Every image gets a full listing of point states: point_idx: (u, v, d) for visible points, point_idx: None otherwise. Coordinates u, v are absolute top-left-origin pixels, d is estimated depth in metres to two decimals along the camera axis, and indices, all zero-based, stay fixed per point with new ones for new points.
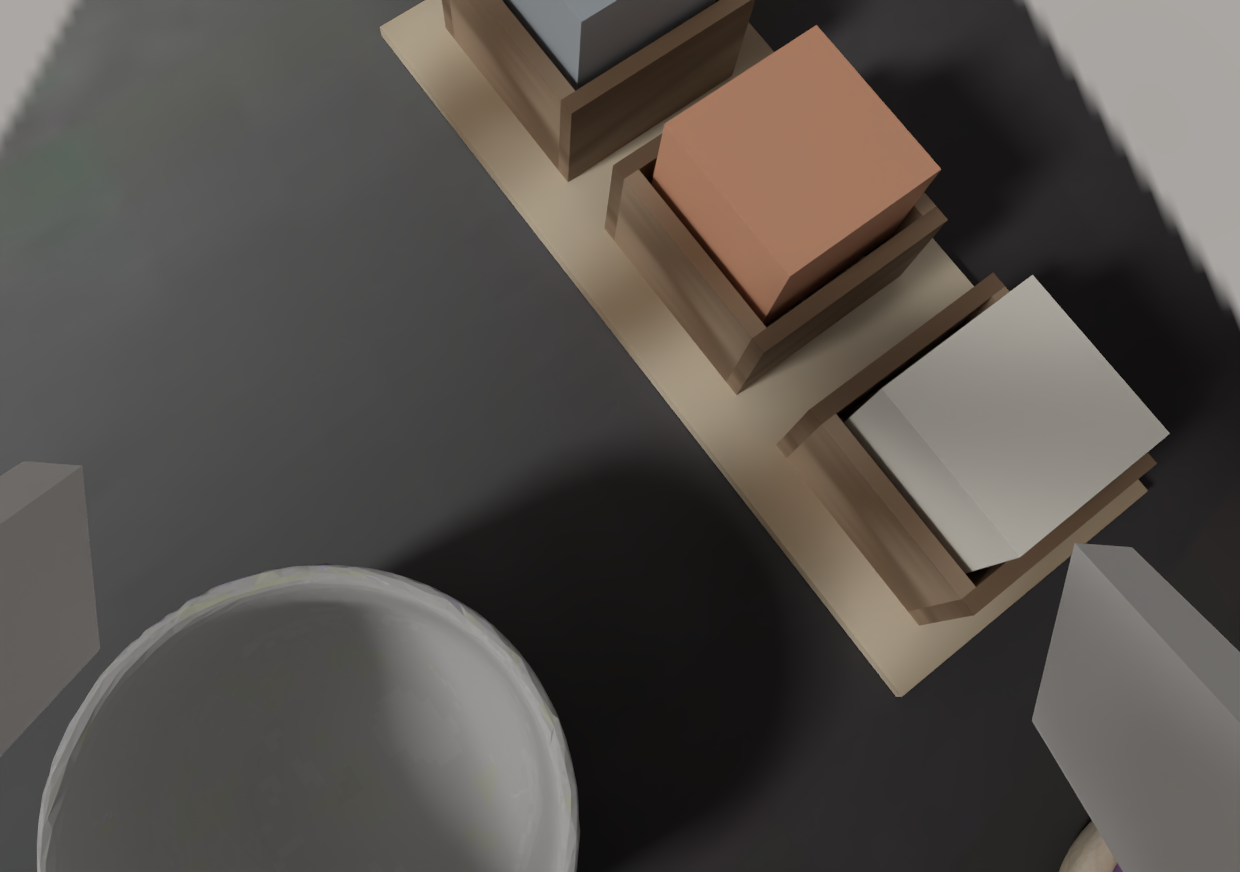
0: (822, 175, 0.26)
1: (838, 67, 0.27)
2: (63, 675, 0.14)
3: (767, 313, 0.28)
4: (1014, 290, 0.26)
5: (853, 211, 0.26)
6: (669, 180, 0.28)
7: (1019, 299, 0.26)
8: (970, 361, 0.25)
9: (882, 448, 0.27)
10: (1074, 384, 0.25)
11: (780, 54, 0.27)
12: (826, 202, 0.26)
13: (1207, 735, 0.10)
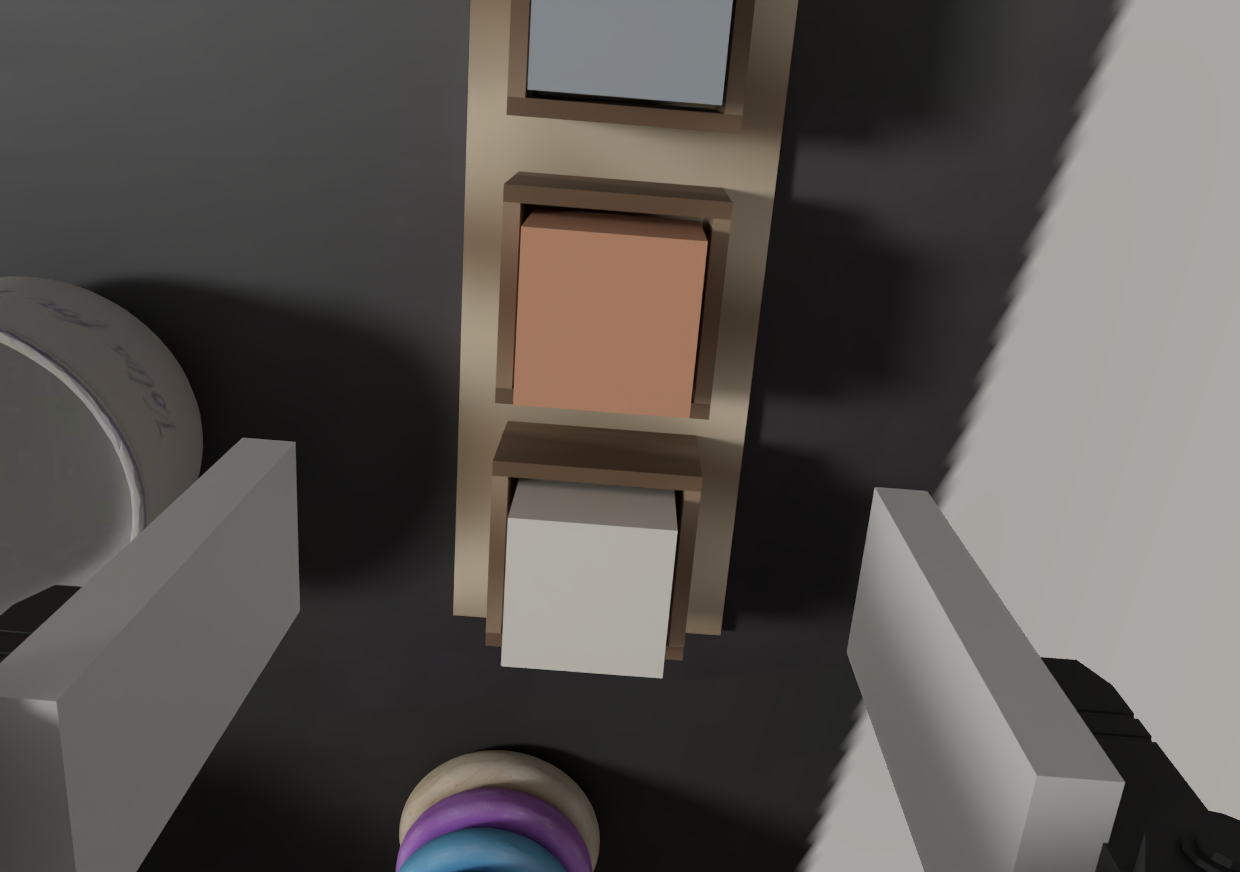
0: (601, 356, 0.29)
1: (690, 288, 0.29)
2: (279, 632, 0.15)
3: None
4: (654, 530, 0.31)
5: (598, 397, 0.30)
6: None
7: (652, 538, 0.31)
8: (581, 547, 0.31)
9: None
10: (633, 609, 0.32)
11: (656, 243, 0.28)
12: (585, 376, 0.29)
13: (937, 641, 0.12)
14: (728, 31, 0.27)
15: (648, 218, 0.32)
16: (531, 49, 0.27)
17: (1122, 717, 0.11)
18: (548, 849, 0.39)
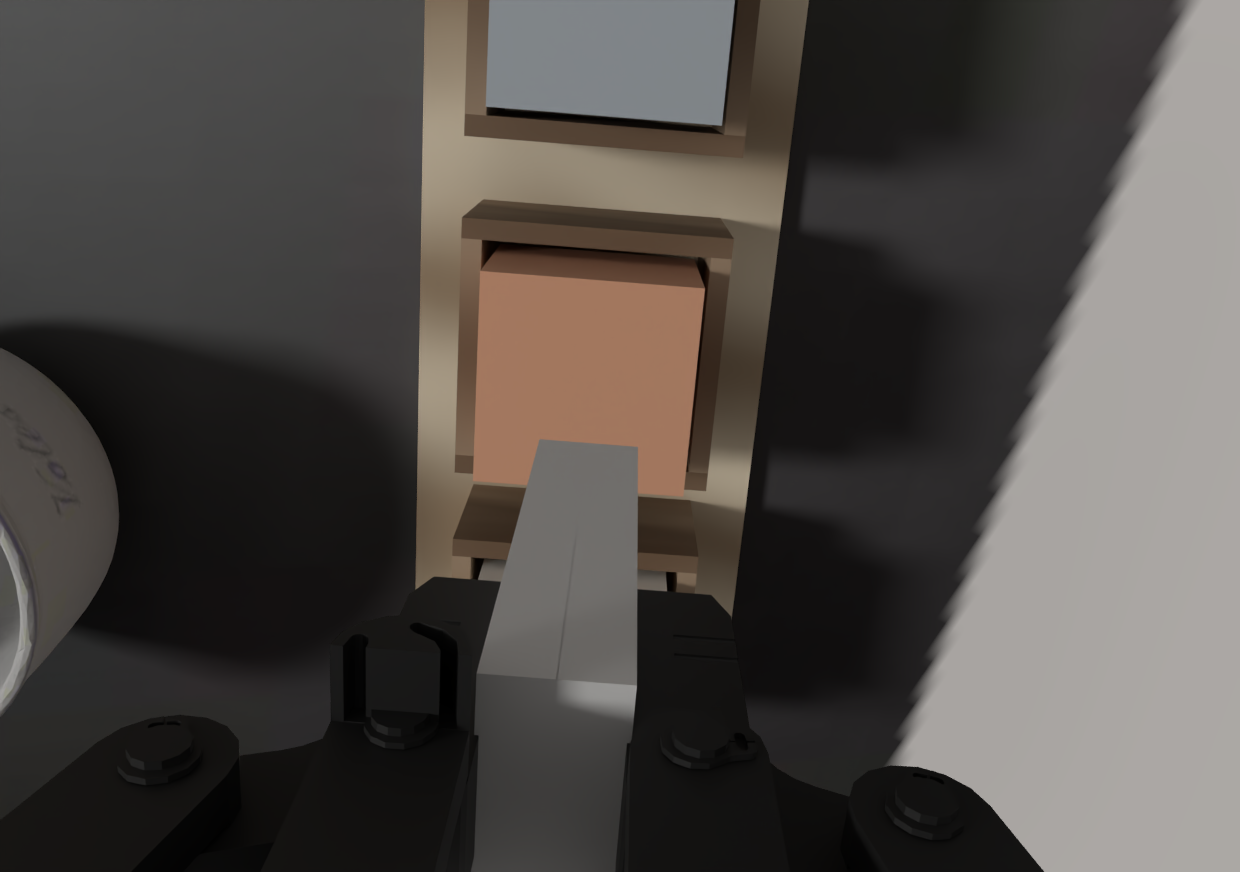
0: (577, 423, 0.24)
1: (684, 343, 0.24)
2: None
3: None
4: None
5: None
6: None
7: None
8: None
9: None
10: None
11: (643, 290, 0.23)
12: None
13: None
14: (729, 36, 0.22)
15: (634, 256, 0.27)
16: (490, 57, 0.22)
17: (721, 642, 0.12)
18: None
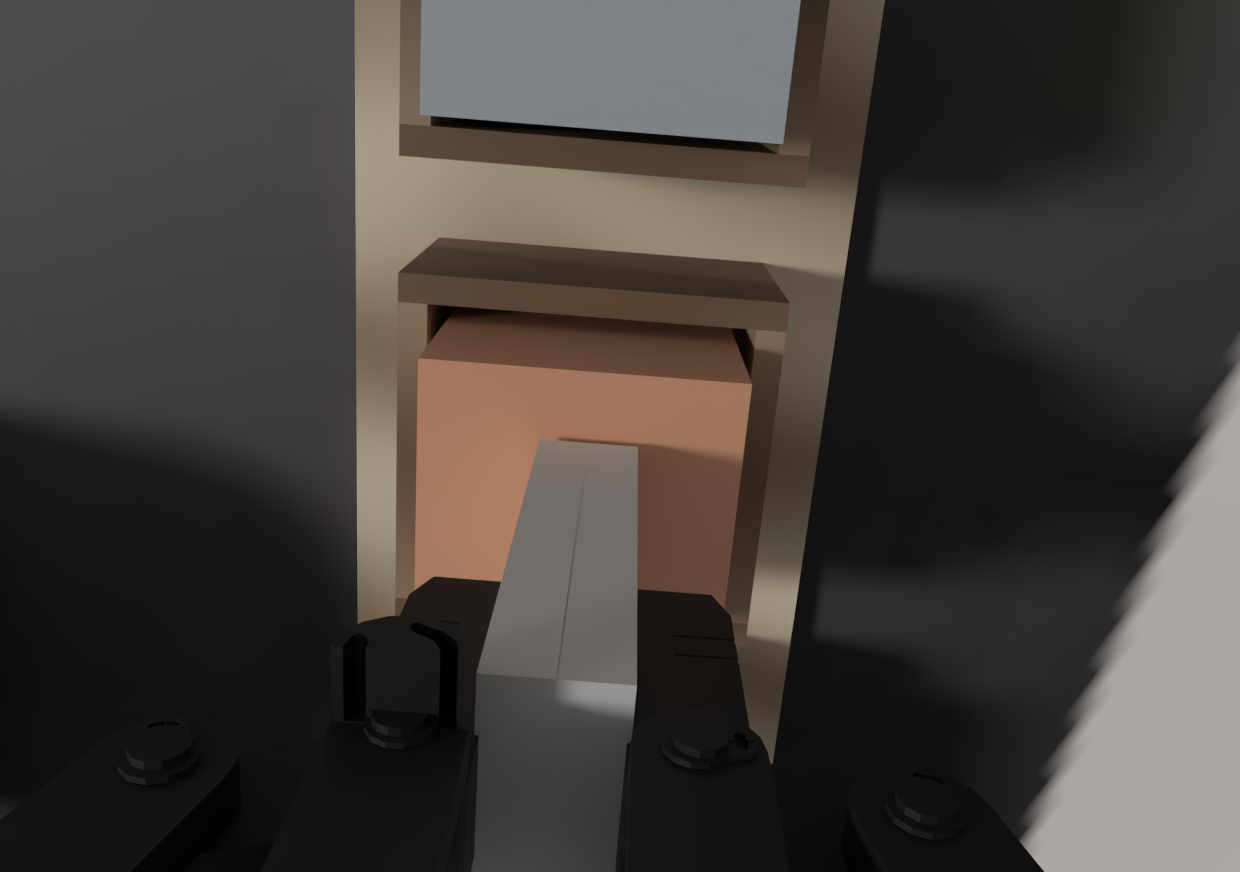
0: None
1: (721, 463, 0.16)
2: None
3: None
4: None
5: None
6: None
7: None
8: None
9: None
10: None
11: (661, 387, 0.16)
12: None
13: None
14: (797, 5, 0.14)
15: (645, 321, 0.19)
16: (424, 38, 0.14)
17: (722, 642, 0.12)
18: None
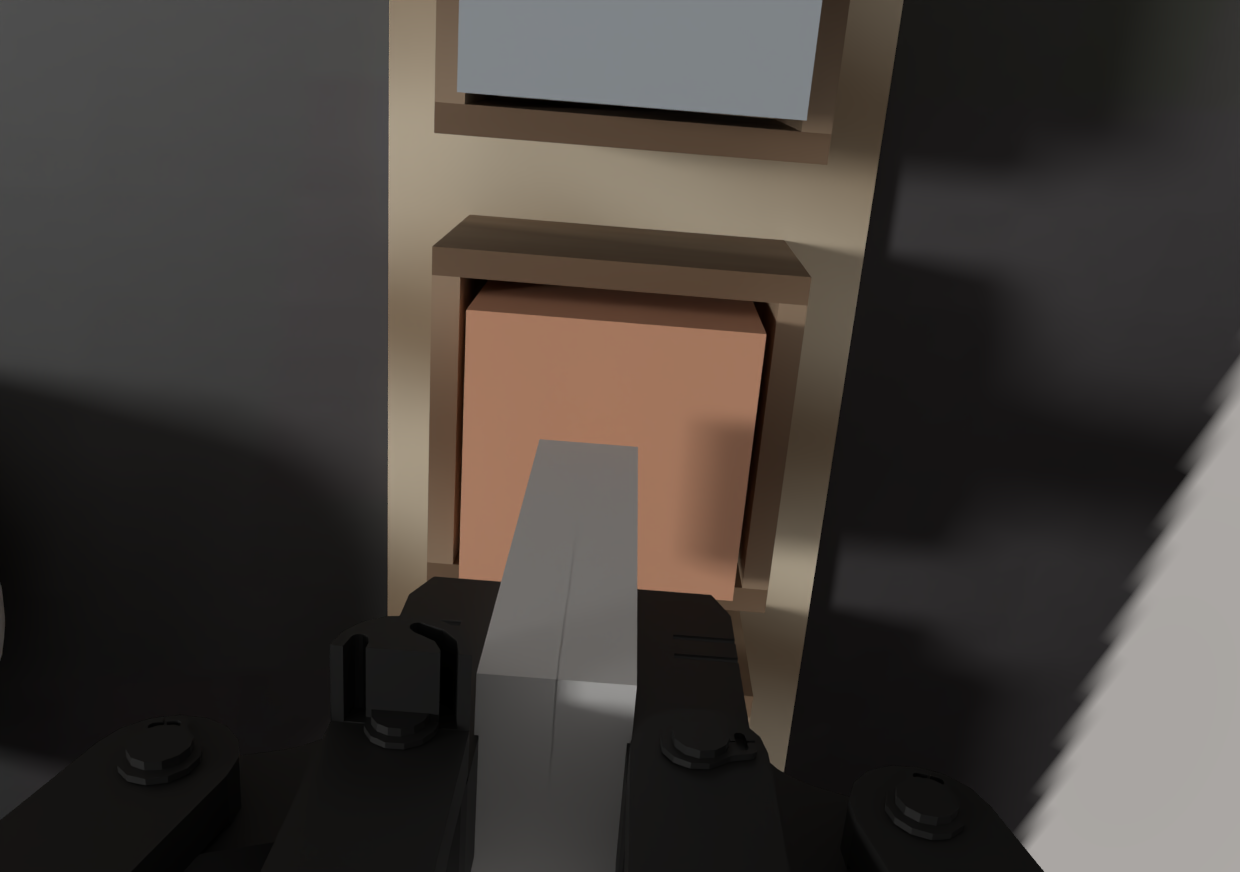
0: None
1: (738, 406, 0.18)
2: None
3: None
4: None
5: None
6: None
7: None
8: None
9: None
10: None
11: (684, 337, 0.18)
12: None
13: None
14: None
15: None
16: (462, 18, 0.15)
17: (721, 642, 0.12)
18: None
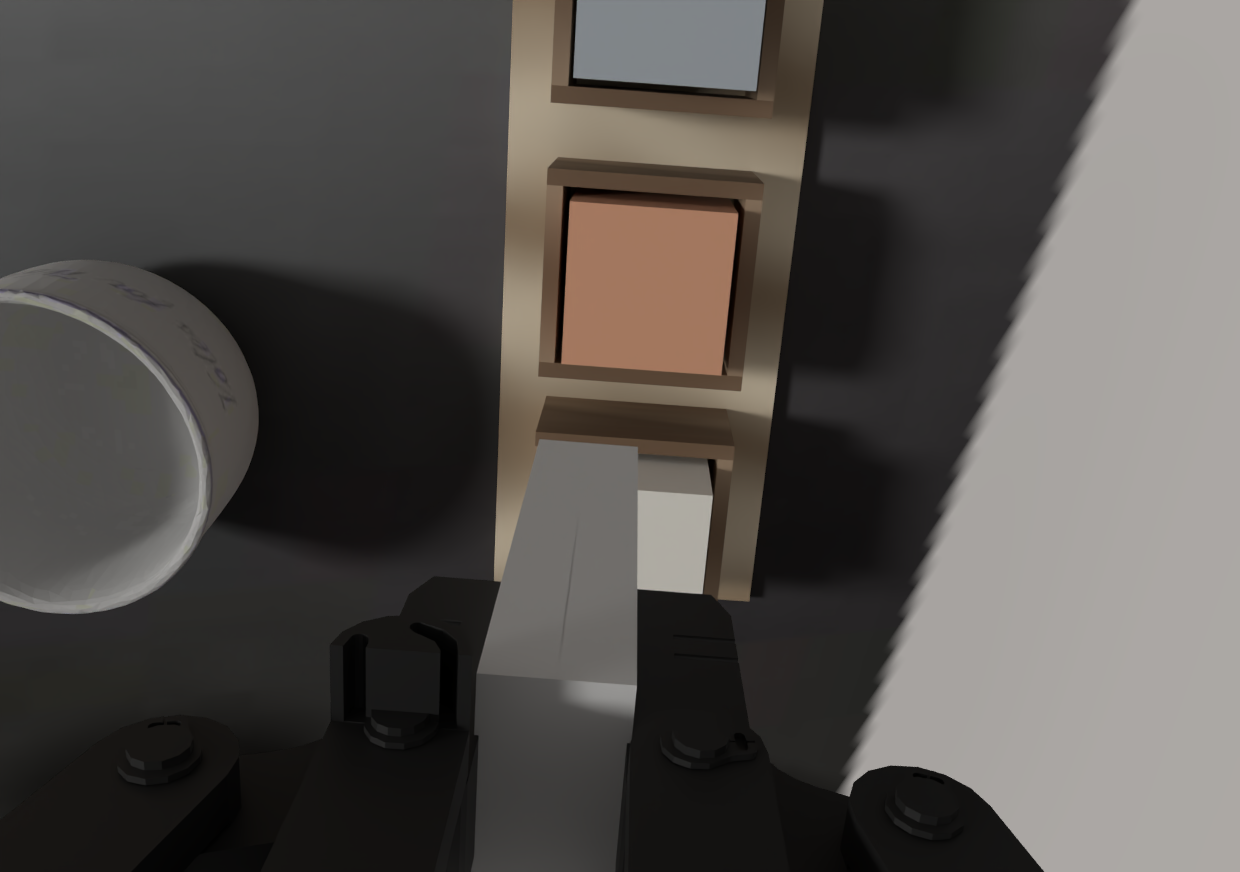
0: (641, 318, 0.32)
1: (723, 256, 0.32)
2: None
3: None
4: (691, 495, 0.33)
5: (639, 356, 0.33)
6: None
7: (689, 503, 0.33)
8: None
9: None
10: (670, 571, 0.34)
11: (692, 215, 0.31)
12: (627, 337, 0.33)
13: None
14: (762, 21, 0.28)
15: (682, 195, 0.35)
16: (576, 39, 0.28)
17: (722, 642, 0.12)
18: None
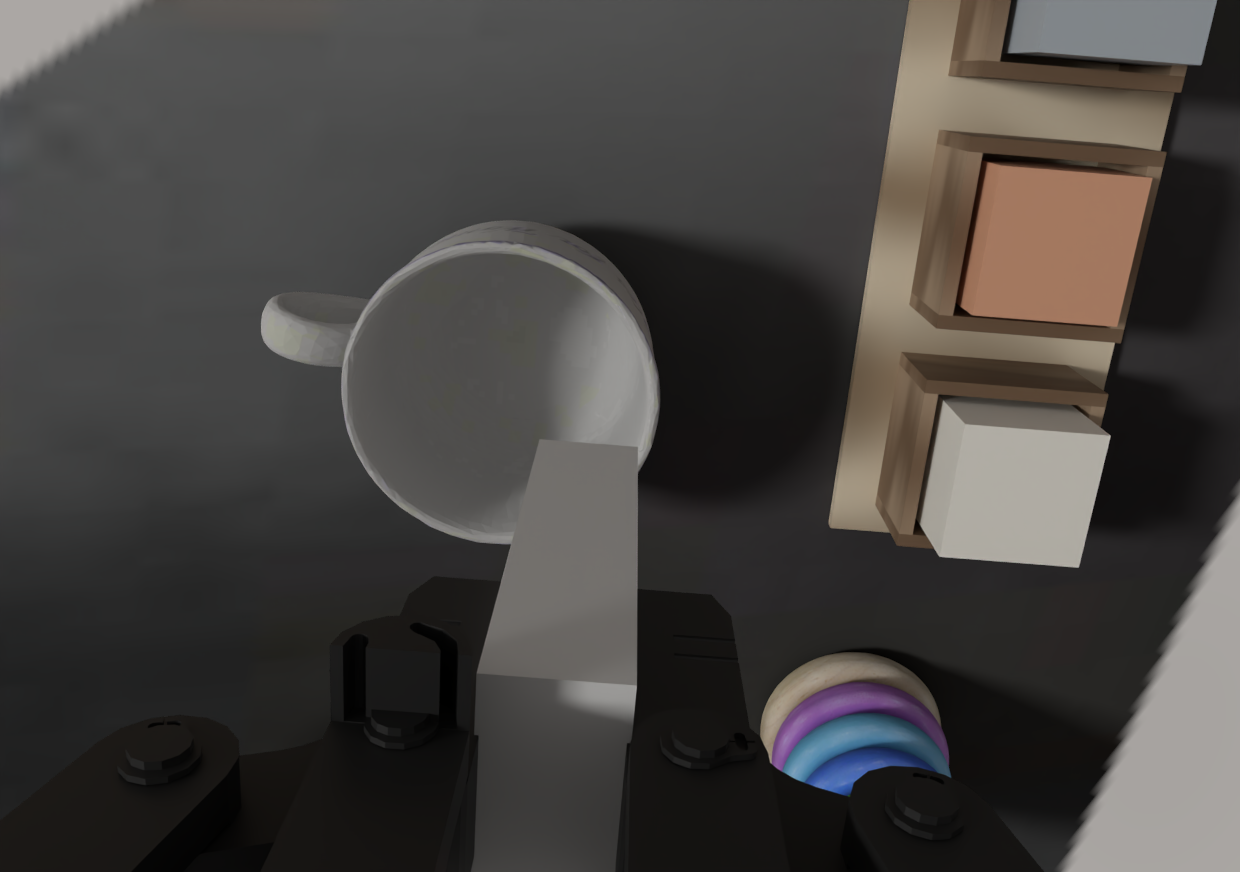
0: (1051, 274, 0.36)
1: (1133, 216, 0.35)
2: None
3: None
4: (1091, 435, 0.36)
5: (1044, 309, 0.36)
6: (978, 178, 0.37)
7: (1088, 442, 0.36)
8: (1025, 450, 0.36)
9: (941, 434, 0.39)
10: (1062, 506, 0.37)
11: (1110, 179, 0.35)
12: (1036, 291, 0.36)
13: None
14: (1215, 2, 0.32)
15: (1062, 164, 0.38)
16: (1046, 17, 0.32)
17: (721, 642, 0.12)
18: None
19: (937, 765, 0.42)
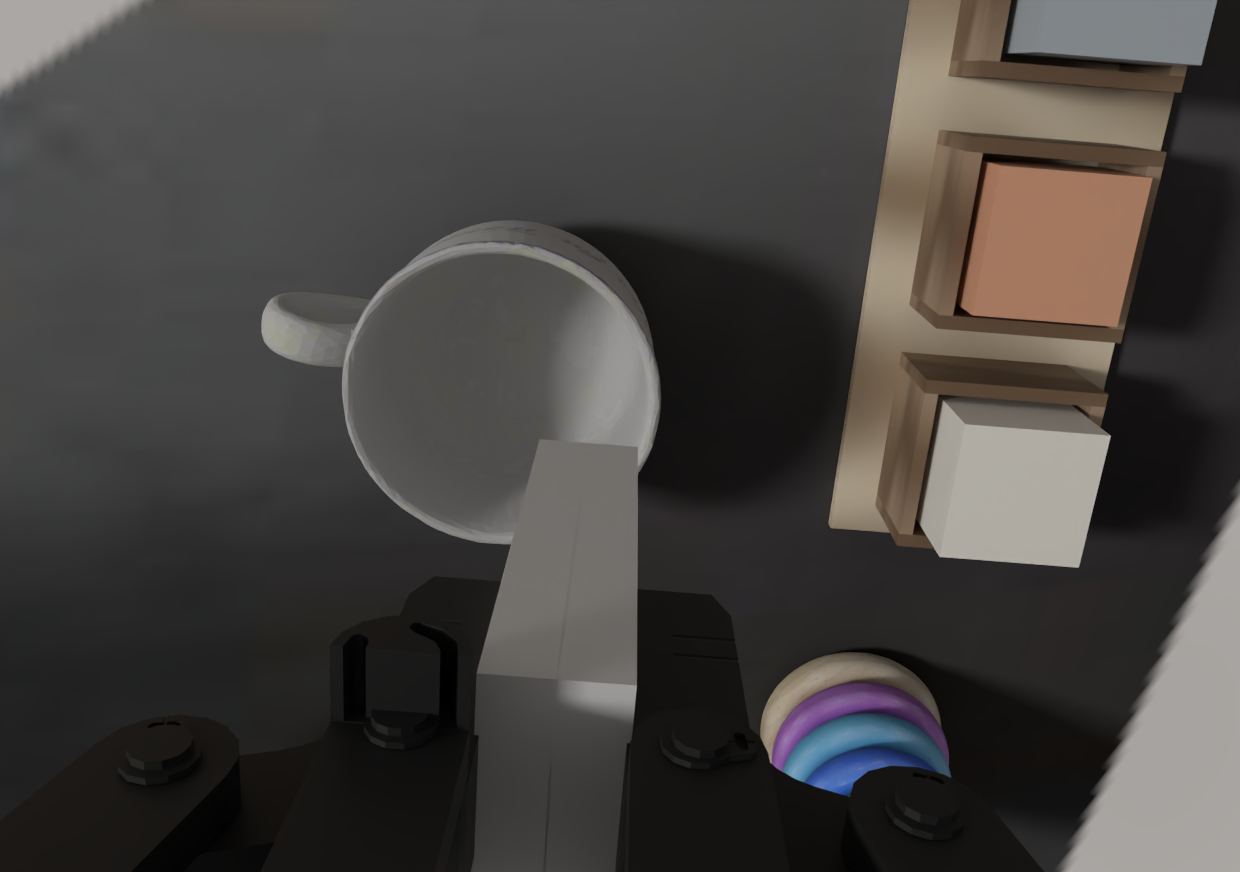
0: (1051, 274, 0.36)
1: (1133, 216, 0.35)
2: None
3: None
4: (1091, 435, 0.36)
5: (1044, 309, 0.36)
6: (978, 178, 0.37)
7: (1088, 442, 0.36)
8: (1025, 450, 0.36)
9: (941, 434, 0.39)
10: (1062, 506, 0.37)
11: (1110, 179, 0.35)
12: (1036, 291, 0.36)
13: None
14: (1215, 2, 0.32)
15: (1062, 164, 0.38)
16: (1046, 17, 0.32)
17: (721, 642, 0.12)
18: None
19: (937, 765, 0.42)
